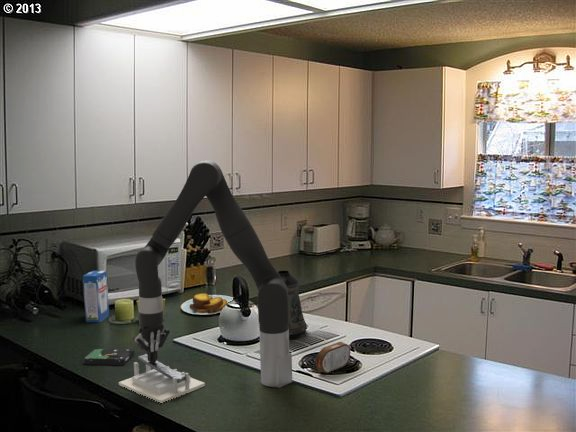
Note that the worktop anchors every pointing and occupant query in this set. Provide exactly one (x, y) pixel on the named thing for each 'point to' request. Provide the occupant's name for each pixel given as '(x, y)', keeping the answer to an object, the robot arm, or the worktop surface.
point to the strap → (162, 369)
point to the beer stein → (294, 307)
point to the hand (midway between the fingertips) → (152, 361)
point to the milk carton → (96, 296)
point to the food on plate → (205, 304)
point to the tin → (333, 357)
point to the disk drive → (109, 356)
